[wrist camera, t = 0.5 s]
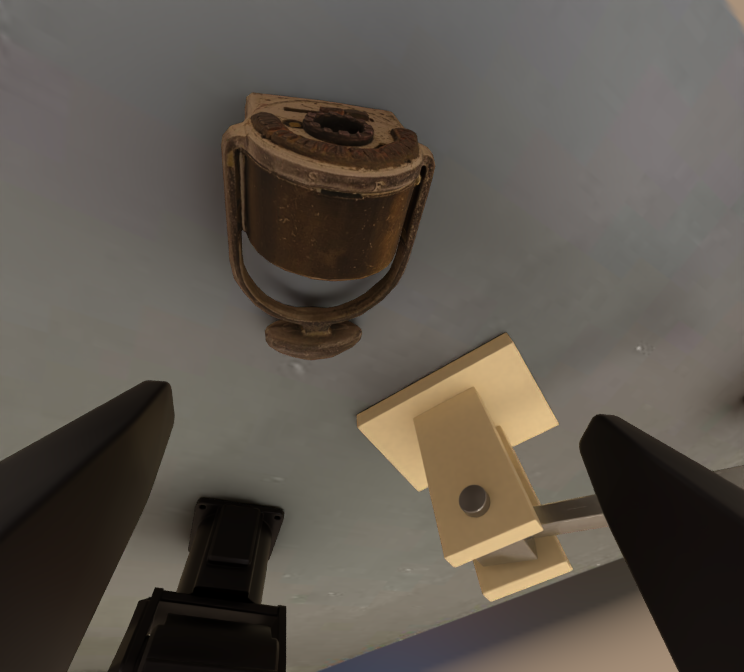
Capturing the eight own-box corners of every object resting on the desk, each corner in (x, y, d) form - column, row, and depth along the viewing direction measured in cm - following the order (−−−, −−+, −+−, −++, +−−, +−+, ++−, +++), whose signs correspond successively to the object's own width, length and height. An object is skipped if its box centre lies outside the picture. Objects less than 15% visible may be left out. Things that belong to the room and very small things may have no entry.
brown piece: (538, 184, 14) (282, -13, 10) (369, 439, 19) (132, 393, 14) (448, 156, 20) (259, 24, 15) (334, 355, 25) (158, 301, 20)
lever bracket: (505, 331, 24) (601, 466, 15) (551, 412, 28) (649, 558, 19) (356, 414, 27) (363, 571, 18) (415, 478, 30) (446, 634, 21)
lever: (880, 374, 13) (954, 432, 11) (875, 472, 16) (933, 531, 14) (444, 481, 20) (445, 528, 18) (493, 537, 23) (498, 583, 21)
